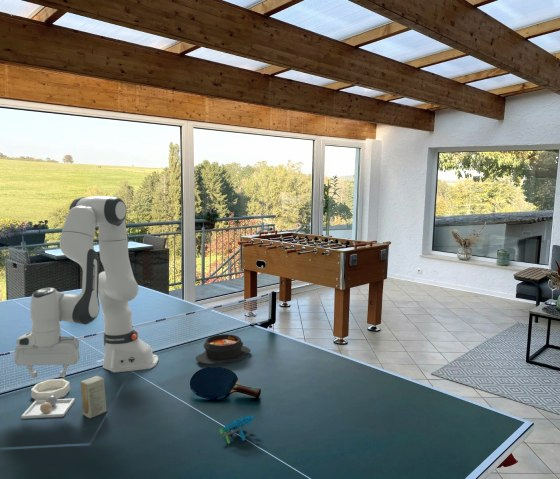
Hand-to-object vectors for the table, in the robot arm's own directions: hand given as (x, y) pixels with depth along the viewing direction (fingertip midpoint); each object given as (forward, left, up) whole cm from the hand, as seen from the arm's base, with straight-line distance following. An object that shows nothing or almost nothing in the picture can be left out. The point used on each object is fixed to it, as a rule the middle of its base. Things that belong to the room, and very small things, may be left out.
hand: (48, 376), depth 166 cm
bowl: (+4, -10, -11) cm, 16 cm away
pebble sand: (0, +5, -11) cm, 12 cm away
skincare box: (-16, +6, -12) cm, 21 cm away
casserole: (-57, -40, -12) cm, 71 cm away
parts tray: (0, +2, -11) cm, 11 cm away
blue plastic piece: (-63, +24, -12) cm, 69 cm away
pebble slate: (0, 0, -11) cm, 11 cm away
